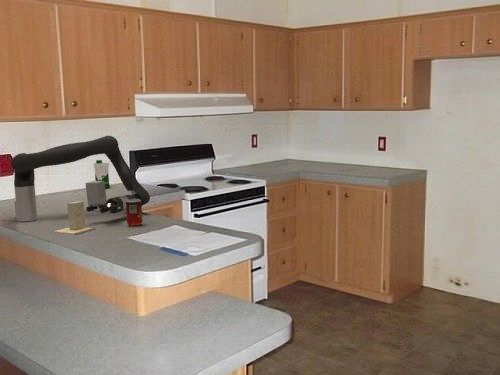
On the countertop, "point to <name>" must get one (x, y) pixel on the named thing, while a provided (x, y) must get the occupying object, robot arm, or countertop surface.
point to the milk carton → (102, 172)
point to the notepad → (75, 230)
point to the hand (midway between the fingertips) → (94, 210)
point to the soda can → (134, 212)
